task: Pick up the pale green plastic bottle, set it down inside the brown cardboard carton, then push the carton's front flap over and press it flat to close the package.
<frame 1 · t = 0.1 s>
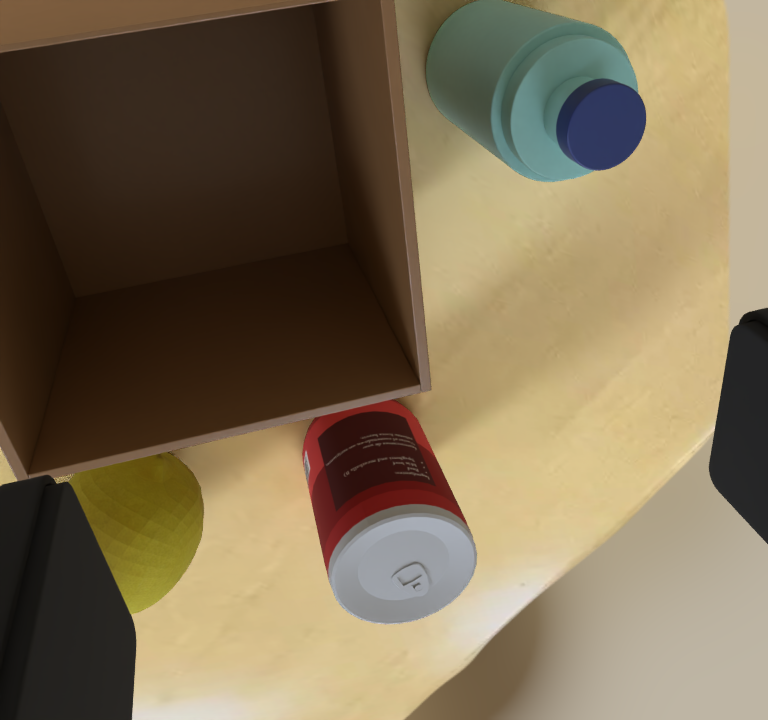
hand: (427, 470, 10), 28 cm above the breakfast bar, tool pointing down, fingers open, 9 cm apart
lemon: (130, 481, 44), on the breakfast bar
canned food: (360, 439, 46), on the breakfast bar
carton: (182, 141, 35), on the breakfast bar
bottle: (484, 66, 36), on the breakfast bar
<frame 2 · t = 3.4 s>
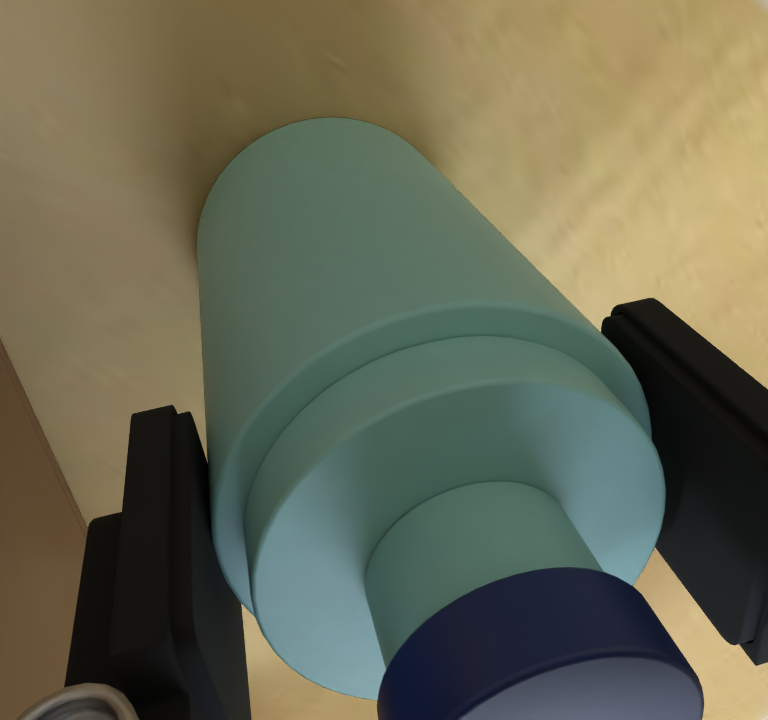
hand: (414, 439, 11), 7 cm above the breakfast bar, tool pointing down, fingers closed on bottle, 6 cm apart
bottle: (329, 248, 17), on the breakfast bar, touching gripper
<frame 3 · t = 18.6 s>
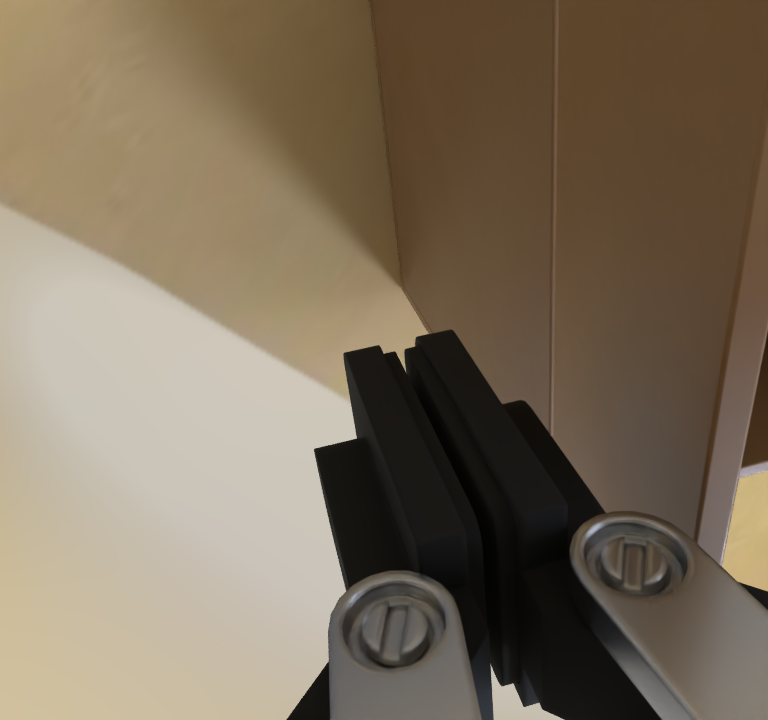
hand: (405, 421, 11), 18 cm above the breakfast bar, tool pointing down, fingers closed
carton: (558, 78, 28), on the breakfast bar
flap: (619, 383, 11), point 18 cm above the breakfast bar, hinge at 101.3°
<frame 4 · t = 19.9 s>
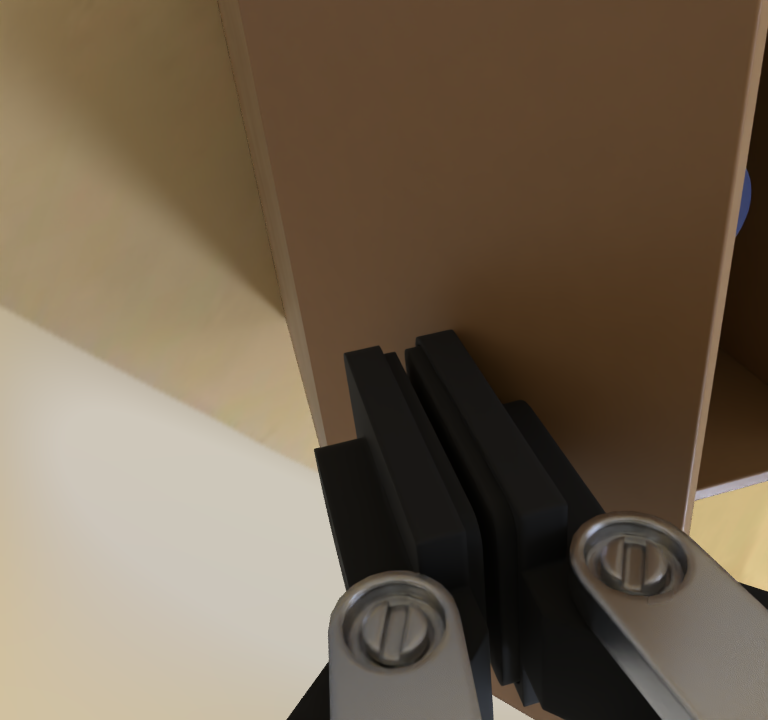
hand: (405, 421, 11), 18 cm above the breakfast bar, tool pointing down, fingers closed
carton: (434, 104, 27), on the breakfast bar
bottle: (492, 97, 27), resting on carton
flap: (473, 403, 11), point 18 cm above the breakfast bar, hinge at 51.2°, touching gripper
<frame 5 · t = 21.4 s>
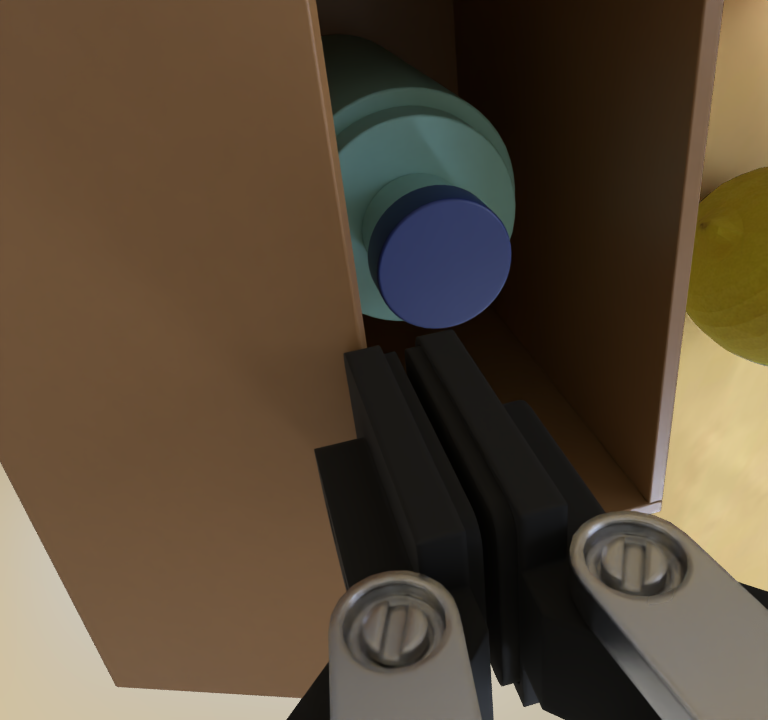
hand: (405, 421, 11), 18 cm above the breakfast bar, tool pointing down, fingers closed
lemon: (728, 235, 33), on the breakfast bar
carton: (280, 133, 26), on the breakfast bar
bottle: (338, 126, 26), resting on carton
flap: (172, 420, 12), point 16 cm above the breakfast bar, hinge at 21.3°, touching gripper
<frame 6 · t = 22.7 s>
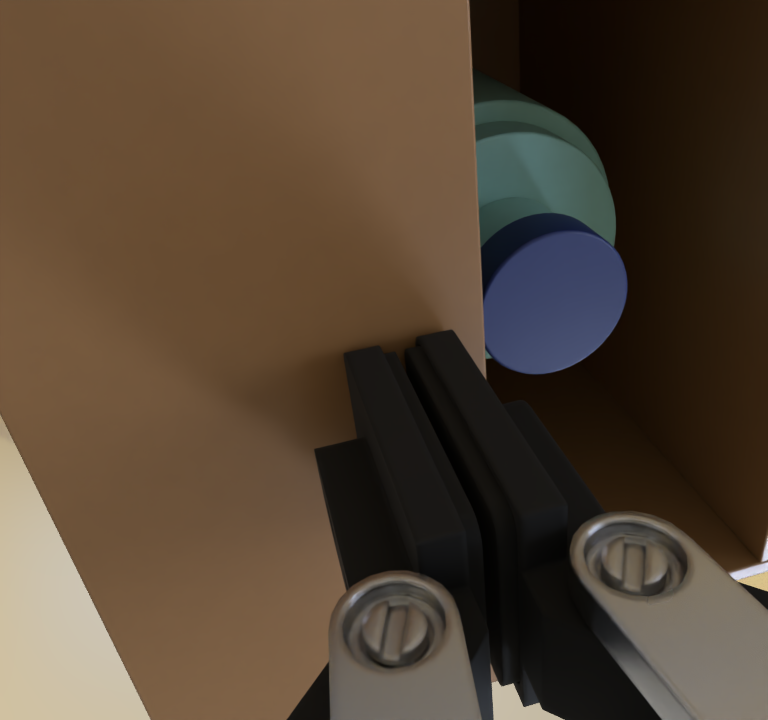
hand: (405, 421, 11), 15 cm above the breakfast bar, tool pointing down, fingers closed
carton: (328, 145, 24), on the breakfast bar
bottle: (392, 137, 24), resting on carton
flap: (274, 442, 11), point 15 cm above the breakfast bar, hinge at -0.4°, touching gripper
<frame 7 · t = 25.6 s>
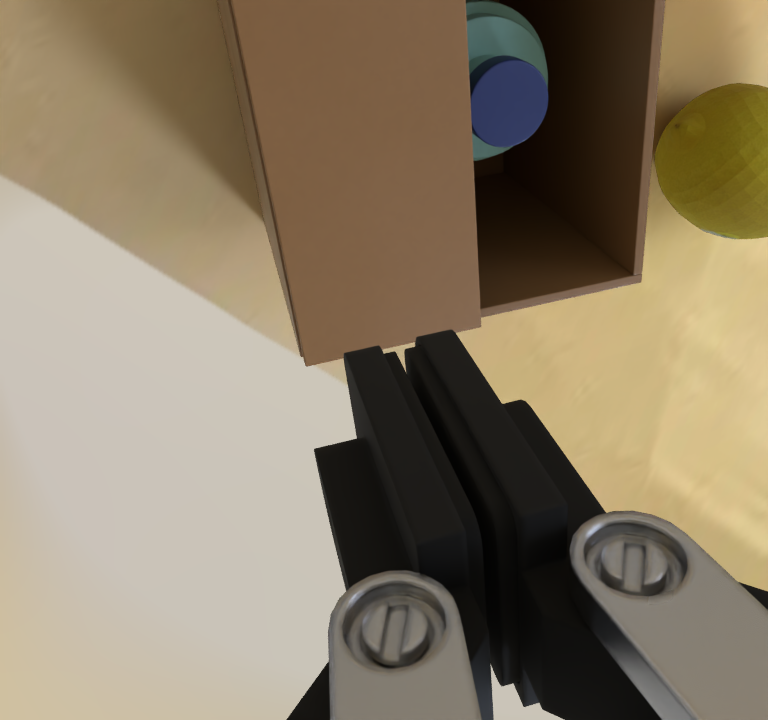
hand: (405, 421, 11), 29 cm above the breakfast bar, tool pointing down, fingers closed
lemon: (700, 146, 43), on the breakfast bar
carton: (372, 55, 36), on the breakfast bar
bottle: (414, 50, 36), resting on carton
flap: (369, 148, 23), point 15 cm above the breakfast bar, hinge at -0.5°
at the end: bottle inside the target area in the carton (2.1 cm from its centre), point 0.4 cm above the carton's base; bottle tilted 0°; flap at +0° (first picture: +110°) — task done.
